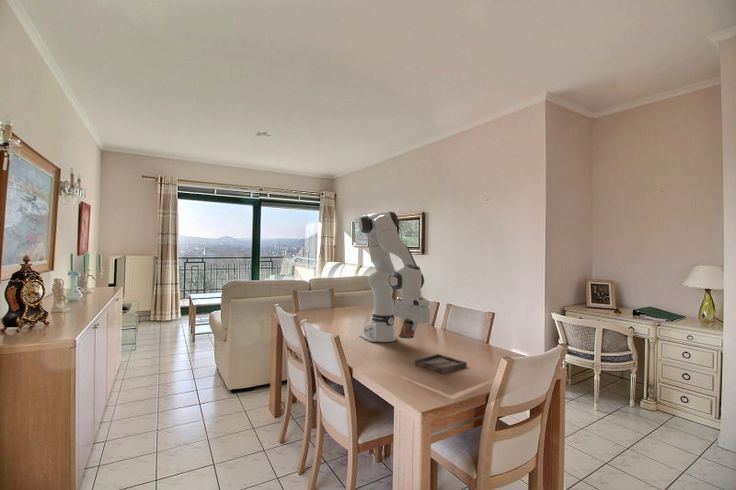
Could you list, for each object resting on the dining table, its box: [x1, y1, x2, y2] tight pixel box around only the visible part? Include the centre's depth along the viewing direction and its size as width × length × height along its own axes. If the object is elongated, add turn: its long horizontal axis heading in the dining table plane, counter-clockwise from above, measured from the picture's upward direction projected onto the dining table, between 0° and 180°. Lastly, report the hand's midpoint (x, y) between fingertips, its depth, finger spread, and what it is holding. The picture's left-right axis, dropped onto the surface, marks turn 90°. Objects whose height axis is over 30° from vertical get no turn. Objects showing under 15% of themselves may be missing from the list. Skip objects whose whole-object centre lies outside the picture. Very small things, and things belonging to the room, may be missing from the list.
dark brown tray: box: [414, 353, 467, 375], centre depth 157 cm, size 16×16×2 cm
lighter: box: [398, 318, 418, 339], centre depth 164 cm, size 8×3×10 cm, turn 121°
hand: (410, 329), depth 164 cm, fingers closed on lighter, 3 cm apart
